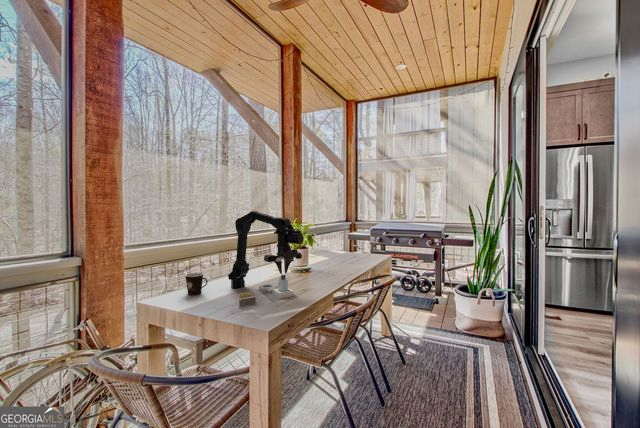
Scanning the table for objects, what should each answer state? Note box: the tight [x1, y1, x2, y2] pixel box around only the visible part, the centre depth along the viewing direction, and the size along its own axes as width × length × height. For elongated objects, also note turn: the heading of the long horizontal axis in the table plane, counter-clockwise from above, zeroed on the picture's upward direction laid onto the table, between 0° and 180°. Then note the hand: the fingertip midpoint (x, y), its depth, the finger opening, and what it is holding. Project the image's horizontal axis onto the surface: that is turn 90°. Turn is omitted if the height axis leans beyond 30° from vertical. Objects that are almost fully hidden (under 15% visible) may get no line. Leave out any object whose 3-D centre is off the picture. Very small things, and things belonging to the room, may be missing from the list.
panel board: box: [255, 285, 299, 302], centre depth 157 cm, size 14×22×1 cm, turn 33°
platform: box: [236, 291, 259, 309], centre depth 141 cm, size 12×18×7 cm, turn 125°
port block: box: [273, 287, 295, 298], centre depth 154 cm, size 8×8×3 cm
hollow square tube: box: [258, 283, 276, 293], centre depth 160 cm, size 6×6×2 cm
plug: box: [278, 274, 289, 292], centre depth 154 cm, size 3×3×10 cm
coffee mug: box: [184, 272, 209, 297], centre depth 158 cm, size 12×9×10 cm
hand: (283, 273), depth 154 cm, fingers closed
